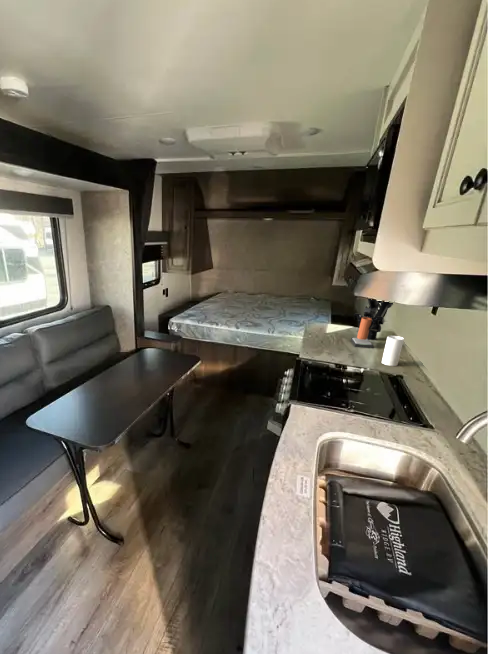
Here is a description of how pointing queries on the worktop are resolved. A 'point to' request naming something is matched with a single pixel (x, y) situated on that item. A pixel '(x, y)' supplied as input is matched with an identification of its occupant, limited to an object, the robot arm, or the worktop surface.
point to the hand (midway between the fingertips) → (363, 328)
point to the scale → (361, 343)
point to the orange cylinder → (364, 328)
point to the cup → (392, 350)
